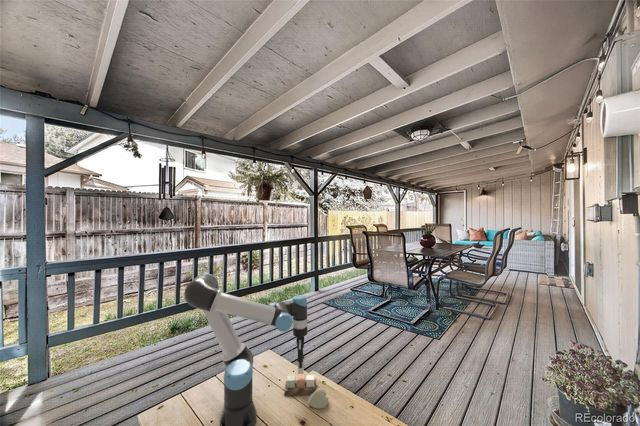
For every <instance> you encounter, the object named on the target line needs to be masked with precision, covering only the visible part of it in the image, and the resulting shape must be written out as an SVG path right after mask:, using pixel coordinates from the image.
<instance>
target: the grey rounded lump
mask: <svg viewBox="0 0 640 426" xmlns="http://www.w3.org/2000/svg"><path fill="white" fill-rule="evenodd" d="M329 401H330V399H329V397H328V396H327V392H326V390H325V389H323V388H321V387H320V388H319V387H318V388H316V391H315V392H314V393H313V394H310V395H309V398H308V400H307V405H309V406H310V407H311V408H313V409H324V408H325V407H327V406H328V404H329Z"/></svg>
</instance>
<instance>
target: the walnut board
mask: <svg viewBox="0 0 640 426" xmlns="http://www.w3.org/2000/svg"><path fill="white" fill-rule="evenodd" d="M306 380H307V379H305V387H299V388H297V379H295V388H287V380H285V386H284V392H283V393H284V396H293V395H295V396H297V395H312V394H313V393H314V392H315V391H316V390H317V379H314V387H307V381H306Z"/></svg>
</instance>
